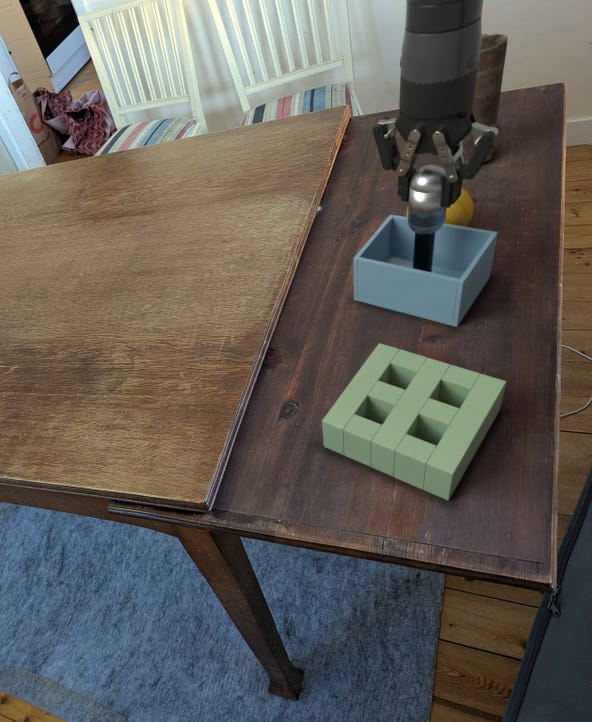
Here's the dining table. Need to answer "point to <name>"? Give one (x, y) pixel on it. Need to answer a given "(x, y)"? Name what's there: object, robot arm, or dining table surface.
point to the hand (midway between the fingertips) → (427, 200)
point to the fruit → (459, 211)
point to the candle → (487, 87)
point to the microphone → (426, 212)
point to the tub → (421, 288)
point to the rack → (414, 418)
